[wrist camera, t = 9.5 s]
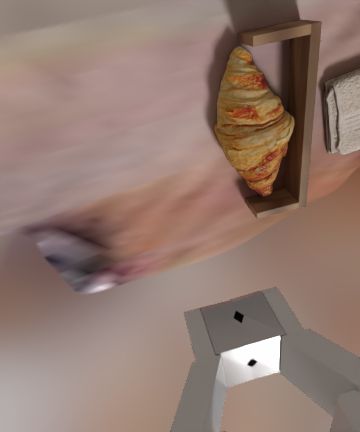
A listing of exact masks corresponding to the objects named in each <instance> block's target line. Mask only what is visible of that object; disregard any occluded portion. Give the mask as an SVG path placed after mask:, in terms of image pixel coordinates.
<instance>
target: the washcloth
mask: <svg viewBox="0 0 360 432" xmlns="http://www.w3.org/2000/svg"><path fill="white" fill-rule="evenodd" d="M324 85H325V89H326V91H325V95H324V99H323V106H324V118H325V125H326V126H325V128H326V145H327V152H328V153H334V152H340V153H341V154H342V155H345V154H348V153H351V152H353V151H356V150H359V149H360V69H357V70H354V71H352V72H349V73H346V74H344V75H342V76H338V77H336V78H334V79H330V80H328V81H327V82H325V83H324Z"/></svg>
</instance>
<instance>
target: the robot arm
mask: <svg viewBox="0 0 360 432" xmlns="http://www.w3.org/2000/svg"><path fill="white" fill-rule="evenodd" d="M184 316H185V321H186V325H187V329H188V333H189V337H190V342H191V346H192V350H193V354H194V357H195V361H196V362H193V363H192V365H191V368H190V371H189V374H188V377H187V380H186V383H185V387H184V389H183V393H182V396H181V399H180V402H179V405H178V408H177V412H176V415H175V418H174V421H173V424H172V427H171V430H170V432H219V430H220V425H221V419H222V414H223V408H224V403H225V397H226V392H227V388H228V387H231V386H234V385H237V384H240V383H243V382H246V381H249V380H252V379H256V378H260V377H263V376H266V375H271V374H274V373H278V372H280V374H281V375H283V376H284V377H285V378H286V379H287V380H289V381H290V382H291V383H292V384H293V385H295V386H296V387H297V388H298V389H300V390H301V391H302V392H303V393H304V394H306V395H307V396H308V397H309V398H311V399H312V400H313V401H314V402H315V403H317V404H318V405H319V406H320V407H321V408H323V409H324V410H325V411H326V412H328V413H329V414H330V415H331V416H332V417H333V421H332V424H331V428H330V432H360V357H358V356H356V355H355V354H353V353H351V352H349V351H348V350H346V349H344V348H343V347H341V346H339V345H337V344H335V343H334V342H332V341H330V340H329V339H327V338H325V337H323V336H322V335H320V334H318V333H316V332H315V331H313V330H311V329H304V328H303V327H302V326H301V324H300V322H299V321H298V319H297V317H296V316H295V314H294V312H293V311H292V309H291V308H290V306H289V305H288V303H287V301H286V300H285V298H284V297H283V295H282V294H281V292H280V290H279V289H278V288H277V287H272V288H269V289H266V290H262V291H257V292H254V293H250V294H247V295H244V296H240V297H237V298H234V299H231V300H229V301H225V302H221V303H217V304H214V305H209V306H206V307H201V308H200V309H199V308H198V309H194V310H190V311H187V312H184ZM222 432H226V431H222Z"/></svg>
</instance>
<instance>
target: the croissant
mask: <svg viewBox="0 0 360 432" xmlns="http://www.w3.org/2000/svg"><path fill="white" fill-rule="evenodd" d="M229 58H230V59H229V60H228V62H227V67H226V70H225V73H224V76H223V78H222V81H221V86H220V92H219V94H218V101H217V123H216V124H215V126H214V130H215V133H216V136H217V138H218V141H219V143H220V145H221V147H222V149H223V151H224V153H225V156H226V158H227V160H228V161H229V163H230V164H231V165H232V166H233V167H234V168H235V169H236V170H237V172H238V173H239V174H240V175H241V176H242V177H243V178H245V180H246V182H247V184H248V186H249V187H250V188H251V189H253V190H255V191H256V192H257V193H259V194H260V195H261V196H262V197H265V196H267V195H270V194H271V192H272V191H273V187H272V183H273V181H274V180H275V179H276V177H277V173H278V171H279V166H280V163H281V159H282V157H284V156H286V152H287V148H288V141H289V139H290V137H291V134H292V132H293V129H294V124H295V121H294V118H293V116H291V115H290V114H289V113H288V112H287V111H285V110H284V107H283V105H282V103H281V100H280V98H279V97H278V96H275V95H274V94H273V92H272V91H271V90H270V88H269V87H268V85H267V83H266V80H265V77H264V74H263V73H262V72H261V71H259V70H258V68H257V66H255V65H252V63H253V61H252V57H251V54H250V53H248V52H247V51H246V50H245V49H244V48H243V47H241V46H239V47H237V48H234V50H233V51H232V53H231V54H230V56H229Z"/></svg>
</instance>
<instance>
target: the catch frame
mask: <svg viewBox="0 0 360 432" xmlns="http://www.w3.org/2000/svg"><path fill="white" fill-rule="evenodd" d="M321 24H322V22H320V21H310V20H296V21H292V22H287V23H282V24H277V25H272V26H268V27H263V28H258V29H253V30H249V31H244V32H239V33H238V42H240V43H243V44H246V45H250V46H253V47H254V46H258V45H263V44H268V43H272V42H277V41H282V40H286V39H291V40H290V67H289V94H288V113H289V114H290V115H291V116H293V118H294V121H295V124H294V129H293V132H292V134H291V137H290V139H289V141H288V148H287V152H286V174H285V188H284V189H280V190H277V191H273V192H271V194H270V195H267V196H265V197H262V196H261V195H257V196H253V197H249V198H246V204H247V206H248V207H249V208H250V210H251V211H252V213H253V214H254V215H255V217H256V218H257V219H258V218H262V217H266V216H270V215H274V214H277V213H281V212H285V211H289V210H293V209H297V208H300V207H304V206H306V201H307V189H308V177H309V165H310V153H311V142H312V130H313V118H314V106H315V94H316V83H317V71H318V59H319V47H320V35H321Z"/></svg>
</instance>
